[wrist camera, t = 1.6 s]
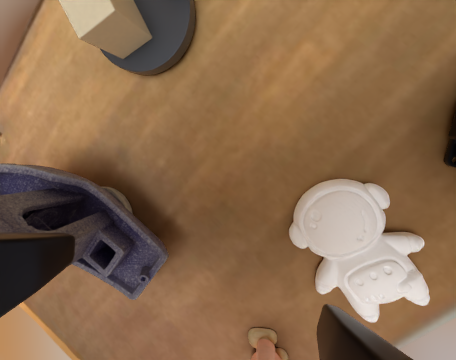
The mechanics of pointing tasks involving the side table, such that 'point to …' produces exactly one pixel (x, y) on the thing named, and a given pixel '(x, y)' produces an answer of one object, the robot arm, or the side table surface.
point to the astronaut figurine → (357, 246)
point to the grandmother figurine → (265, 345)
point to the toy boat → (82, 223)
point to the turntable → (135, 30)
